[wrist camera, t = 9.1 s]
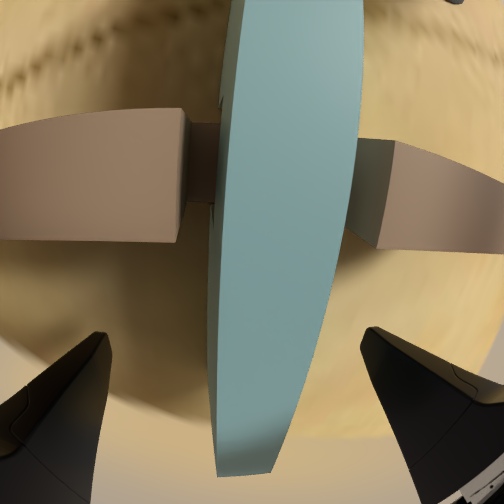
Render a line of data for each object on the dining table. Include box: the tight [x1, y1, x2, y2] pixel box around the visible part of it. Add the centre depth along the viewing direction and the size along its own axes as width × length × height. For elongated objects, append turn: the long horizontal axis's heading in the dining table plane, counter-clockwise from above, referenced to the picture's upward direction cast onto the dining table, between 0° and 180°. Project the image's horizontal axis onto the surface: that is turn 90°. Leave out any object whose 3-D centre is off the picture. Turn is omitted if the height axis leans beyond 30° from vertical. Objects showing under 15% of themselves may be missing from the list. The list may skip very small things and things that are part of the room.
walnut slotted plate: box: [0, 108, 504, 254], centre depth 7 cm, size 20×2×6 cm, turn 85°
